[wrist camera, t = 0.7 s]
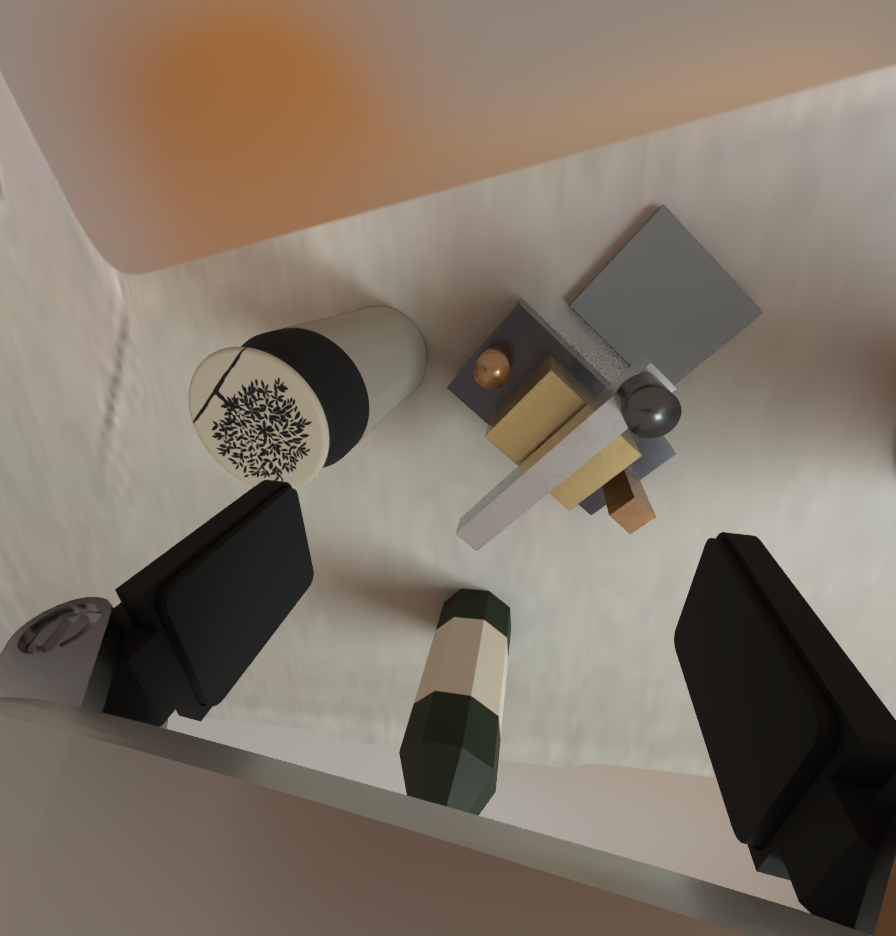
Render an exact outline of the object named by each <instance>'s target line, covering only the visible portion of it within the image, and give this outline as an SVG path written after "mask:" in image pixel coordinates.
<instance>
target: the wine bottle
mask: <svg viewBox="0 0 896 936" xmlns="http://www.w3.org/2000/svg"><path fill="white" fill-rule="evenodd" d="M510 633H511V618H510V607H508V606H507V605H506V604H505V603H503V602H502V601H501V600H500V599H498V598H497V597H496V596H495V595H493V594H492V593H491V592H489V591H480V590H467V589H461V590H459V591H458V592H457V593H456V594H454V595H453V596H452V597H450V598H449V599H448V600H447V601H445V602H444V605H443V608H442V611H441V615H440V618H439V621H438V625H437V628H436V631H435V635H434V638H433V642H432V645H431V648H430V652H429V655H428V658H427V662H426V665H425V668H424V672H423V675H422V678H421V682H420V685H419V688H418V692H417V695H416V698H415V702H414V705H413V708H412V712H411V715H410V718H409V722H408V725H407V728H406V732H405V735H404V738H403V742H402V745H401V748H400V752H399V753H400V759H401V764H402V770H403V776H404V781H405V787H406V792H407V796H410V797H414V798H418V799H421V800H425V801H428V802H432V803H435V804H439V805H443V806H446V807H450V808H453V809H457V810H460V811H464V812H467V813H471V814H474V815H479V814H480V813H481V811H482V810H483V809H484V807H485V806H486V804H487V803H488V802H489V800H490V799H491V797H492V796H493V795H494V793H495V791H496V781H497V770H498V760H499V749H500V739H501V728H502V718H503V707H504V696H505V686H506V675H507V665H508V654H509V643H510Z"/></svg>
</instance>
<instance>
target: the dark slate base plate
mask: <svg viewBox="0 0 896 936" xmlns="http://www.w3.org/2000/svg"><path fill="white" fill-rule="evenodd" d="M549 355H551V356H552V357H554V358H555V359H556V360H557V361H558V362H559V363H560V364H561V365H562V366H563V367H564V368H565V369H566V370H567V371H568V372H569V373H570V374H571V375H573V376H574V377H575V378H576V379H577V380H578V381H579V382H580V383H581V384H582V385H583V386H584V387H585V388H586V389H587V390H588V391H589V392H590V393H592V394H593V395H594V396H595V397H596V396H598V395H599V394H600V393H601V392H602V391H603V390H604V389H605V388H606V387H608V386H609V385H610V383H609V382H608V381H607V380H606V379H605V378H604V377H602V376H601V375H600V374H599V373H598V372H597V371H596V370H595V369H594V368H593V367H592V366H591V365H590V364H589V363H588V362H587V361H586V360H585V359H584V358H583V357H582V356H581V355H580V354H579V353H578V352H576V351H575V350H574V349H573V348H572V347H571V346H570V345H569V344H568V343H567V342H566V341H565V340H564V339H563V338H562V337H561V336H560V335H559V334H558V333H557V332H556V331H555V330H554V329H553V328H551V327H550V326H549V325H548V324H547V323H546V322H545V321H544V320H543V319H542V318H541V317H540V316H539V315H538V314H537V313H536V312H535V311H534V310H533V309H532V308H531V307H530V306H529V305H528V304H526V303H525V302H524V301H523V300H521V301H520V302H519V303H518V304H517V305H516V307H515V308H514V309H513V310H512V311H511V312H510V314H509V315H508V316H507V317H506V318H505V319H504V321H503V322H502V323H501V324H500V325H499V326H498V328H497V329H496V330H495V331H494V332H493V333H492V335H491V336H490V337H489V338H488V339H487V340H486V342H485V343H484V344H483V345H482V346H481V347H480V349H479V350H478V351H477V352H476V353H475V354H474V356H473V357H472V358H471V359H470V360H469V361H468V363H467V364H466V365H465V366H464V367H463V369H462V370H461V371H460V372H459V373H458V374H457V376H456V377H455V378H454V379H453V381H452V382H451V383H450V384H449V386H448V387H447V388H448V389H449V390H450V391H451V392H452V393H453V394H455V395H456V396H457V397H458V398H459V399H460V400H461V401H463V402H464V403H465V404H466V405H467V406H468V407H469V408H470V409H472V410H473V411H474V412H475V413H476V414H477V415H478V416H479V417H481V418H482V419H483V420H484V421H485V422H486V423H487V424H489V423H490V421H491V418H492V415H493V412H494V411H495V410H496V409H497V408H498V407H499V406H500V405H501V404H502V403H503V402H504V401H505V400H506V399H507V398H508V397H509V396H510V395H511V394H512V393H513V392H514V391H515V390H516V389H517V388H518V387H519V386H520V385H521V384H522V383H523V381H524V380H525V379H526V378H527V377H528V376H529V375H530V374H531V373H532V372H533V371H534V370H535V369H536V368H537V367H538V366H539V365H540V364H541V363H542V362H543V361H544V360H545V359H546V358H547V357H548V356H549ZM628 429H629V428H628ZM629 431H630V430H629ZM630 433H631V435H632V437H633V439H634V441H635V443H636V445H637V447H638V449H639V451H640V453H641V455H642V456H641V457H640V458H638V459H637V460H636V461H634V462H633V463H632V464H630V465H629V466H628V467H626V468H625V469H624V470H622V471H621V472H620V473H618V474H617V475H616V476H614V477H613V478H612V479H610V480H609V481H608V482H606V483H605V484H604V485H603V486H601V487H600V488H599V489H597V490H596V491H595V492H593V493H592V494H591V495H589V496H588V497H587V498H585V499H584V500H583V501H581V502H580V503H579V505H580V506H581V507H582V508H583V509H585V510H586V511H587V512H588V513H589V514H590V515H592V514H594V513H595V512H596V511H598V510H599V509H601V508H602V507H603V506H605V505H606V504H607V508H608V512H609V516H611V517H612V518H613V519H614V520H615V521H616V522H617V523H618V524H620V525H621V526H622V527H623V528H624V529H625V530H626V531H627V532H629V533H630V534H631V533H632V532H634V531H635V530H637V529H638V528H640V527H642V526H643V525H645V524H646V523H648V522H649V521H651V520H652V519H654V518H655V517H656V516H655V513H654V511H653V509H652V507H651V504H650V502H649V500H648V498H647V495H646V493H645V491H644V488H643V486H642V484H641V482H640V480H641V479H642V478H643V477H645V476H646V475H647V474H649V473H650V472H652V471H653V470H654V469H656V468H657V467H658V466H660V465H661V464H663V463H664V462H665V461H667V460H668V459H669V458H671V457H672V456H674V455H675V454H676V453H675V452H674V450H673V449H672V447H671V446H670V444H669V443H668V441H667V440H666V439H665V437H664V436H660V437H657V438H642V437H639V436H637V435H635V434H634V433H632V432H631V431H630Z"/></svg>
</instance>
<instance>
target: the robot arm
mask: <svg viewBox="0 0 896 936" xmlns="http://www.w3.org/2000/svg"><path fill="white" fill-rule="evenodd" d="M313 575H314V572H313V566H312V561H311V556H310V551H309V547H308V542H307V537H306V532H305V527H304V522H303V518H302V513H301V508H300V503H299V498H298V494H297V491H296V490H295V489H293V488H292V486H291V485H290V483H288V482H283V481H275V480H263V481H261V482H260V483H259V484H257V485H256V486H255V487H253V488H252V489H251V490H249V491H248V492H247V493H245V494H244V495H242V496H241V497H240V498H238V499H237V500H236V501H234V502H233V503H232V504H230V505H229V506H228V507H226V508H225V509H224V510H222V511H221V512H219V513H218V514H217V515H215V516H214V517H213V518H211V519H210V520H209V521H207V522H206V523H205V524H203V525H202V526H201V527H199V528H198V529H196V530H195V531H194V532H192V533H191V534H190V535H188V536H187V537H186V538H184V539H183V540H182V541H180V542H179V543H178V544H176V545H175V546H173V547H172V548H171V549H169V550H168V551H167V552H165V553H164V554H163V555H161V556H160V557H159V558H157V559H156V560H154V561H153V562H152V563H150V564H149V565H148V566H146V567H145V568H144V569H142V570H141V571H140V572H138V573H137V574H136V575H134V576H133V577H131V578H130V579H129V580H127V581H126V582H125V583H123V584H122V585H121V586H119V587H118V588H117V589H115V590H116V592H117V594H118V596H119V598H120V600H121V603H120V604H119V605H117V606H116V607H115V608H113V607H112V605H111V604H110V602H109V601H108V600H107V599H104V598H100V597H85V598H80V599H75V600H71V601H68V602H66V603H63V604H60V605H57V606H55V607H53V608H51V609H49V610H47V611H44V612H42V613H41V614H39V615H38V616H36V617H34V618H33V619H31V620H30V621H28V622H27V623H26V624H24V625H23V626H22V627H21V628H20V629H18V630H17V631H16V632H15V633H14V634H13V636H12V637H11V638H10V640H9V641H8V642H7V644H6V645H5V647H4V649H3V651H2V653H1V654H0V936H896V720H895V719H894V717H893V716H892V715H891V713H890V712H889V711H888V709H887V708H886V707H885V705H884V704H883V703H882V701H881V700H880V699H879V697H878V696H877V695H876V693H875V692H874V691H873V689H872V688H871V687H870V685H869V684H868V683H867V682H866V680H865V679H864V678H863V676H862V675H861V674H860V672H859V671H858V670H857V668H856V667H855V666H854V664H853V663H852V662H851V660H850V659H849V658H848V656H847V655H846V654H845V652H844V651H843V650H842V648H841V647H840V646H839V644H838V643H837V642H836V640H835V639H834V638H833V636H832V635H831V634H830V632H829V631H828V630H827V628H826V627H825V626H824V624H823V623H822V622H821V620H820V619H819V618H818V616H817V615H816V614H815V612H814V611H813V610H812V608H811V607H810V606H809V604H808V603H807V602H806V601H805V599H804V598H803V597H802V595H801V594H800V593H799V591H798V590H797V589H796V587H795V586H794V585H793V583H792V582H791V581H790V579H789V578H788V577H787V575H786V574H785V573H784V571H783V570H782V569H781V567H780V566H779V565H778V563H777V562H776V561H775V559H774V558H773V557H772V555H771V554H770V553H769V551H768V550H767V549H766V547H765V546H764V545H763V543H762V542H761V541H760V540H759V539H758V538H757V537H756V536H751V535H742V534H734V533H725V532H722V533H720V534H719V535H718V536H717V537H716V539H715V538H710V539H708V540H707V542H706V544H705V547H704V550H703V553H702V555H701V558H700V561H699V564H698V567H697V570H696V573H695V576H694V578H693V581H692V584H691V587H690V590H689V593H688V596H687V599H686V601H685V604H684V607H683V610H682V613H681V616H680V619H679V621H678V624H677V627H676V630H675V635H674V644H675V649H676V653H677V656H678V659H679V662H680V665H681V668H682V672H683V675H684V678H685V681H686V684H687V687H688V690H689V694H690V697H691V700H692V703H693V706H694V709H695V712H696V716H697V719H698V722H699V725H700V728H701V731H702V734H703V738H704V741H705V744H706V747H707V750H708V753H709V756H710V760H711V763H712V766H713V769H714V772H715V775H716V778H717V782H718V785H719V788H720V791H721V794H722V797H723V800H724V803H725V807H726V810H727V813H728V816H729V819H730V822H731V826H732V828H733V831H734V833H735V835H736V837H737V839H738V840H739V841H740V842H741V843H744V844H748V847H749V850H750V853H751V856H752V859H753V862H754V865H755V868H756V871H758V872H762V873H765V874H769V875H773V876H776V877H780V878H784V879H788V880H791V882H792V885H793V887H794V890H795V892H796V895H797V898H798V900H799V902H800V903H801V904H802V905H803V909H802V911H801V910H798V909H794V908H791V907H787V906H784V905H781V904H778V903H775V902H771V901H768V900H765V899H761V898H758V897H755V896H751V895H748V894H745V893H741V892H738V891H735V890H732V889H729V888H725V887H722V886H718V885H715V884H712V883H709V882H706V881H702V880H699V879H696V878H693V877H689V876H685V875H683V874H679V873H676V872H673V871H669V870H666V869H662V868H659V867H656V866H653V865H649V864H646V863H642V862H639V861H635V860H632V859H628V858H625V857H621V856H618V855H614V854H611V853H607V852H604V851H600V850H597V849H593V848H590V847H586V846H583V845H579V844H576V843H572V842H569V841H565V840H562V839H558V838H555V837H551V836H548V835H544V834H541V833H537V832H533V831H530V830H527V829H523V828H520V827H516V826H513V825H509V824H506V823H502V822H499V821H495V820H492V819H488V818H485V817H481V816H478V815H474V814H471V813H467V812H464V811H460V810H457V809H453V808H450V807H446V806H443V805H439V804H435V803H432V802H428V801H425V800H421V799H418V798H414V797H410V796H407V795H403V794H400V793H396V792H393V791H389V790H385V789H382V788H378V787H375V786H371V785H368V784H364V783H360V782H357V781H353V780H349V779H346V778H343V777H339V776H335V775H332V774H328V773H324V772H321V771H317V770H314V769H310V768H306V767H303V766H299V765H296V764H292V763H289V762H285V761H282V760H278V759H274V758H270V757H267V756H263V755H260V754H256V753H252V752H249V751H245V750H242V749H238V748H234V747H231V746H227V745H223V744H220V743H216V742H212V741H208V740H205V739H201V738H198V737H194V736H190V735H186V734H183V733H179V732H176V731H172V730H168V729H167V723H168V717H169V716H170V715H171V714H172V713H173V712H174V710H175V709H176V711H177V713H178V715H179V716H183V717H187V718H190V719H194V720H198V721H201V720H202V719H203V718H204V717H205V715H206V714H207V713H208V711H209V710H210V709H211V708H212V706H216V705H218V704H219V703H220V702H221V701H222V700H223V699H224V698H225V697H226V695H227V694H228V693H229V691H230V690H231V689H232V687H233V686H234V685H235V684H236V682H237V681H238V680H239V678H240V677H241V676H242V674H243V673H244V672H245V670H246V669H247V668H248V666H249V665H250V664H251V663H252V661H253V660H254V659H255V657H256V656H257V655H258V653H259V652H260V651H261V649H262V648H263V647H264V645H265V644H266V643H267V641H268V640H269V639H270V638H271V636H272V635H273V634H274V632H275V631H276V630H277V628H278V627H279V626H280V624H281V623H282V622H283V620H284V619H285V618H286V617H287V615H288V614H289V613H290V611H291V610H292V609H293V607H294V606H295V605H296V603H297V602H298V601H299V599H300V598H301V597H302V595H303V594H304V593H305V592H306V590H307V589H308V588H309V586H310V585H311V583H312V580H313Z"/></svg>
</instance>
